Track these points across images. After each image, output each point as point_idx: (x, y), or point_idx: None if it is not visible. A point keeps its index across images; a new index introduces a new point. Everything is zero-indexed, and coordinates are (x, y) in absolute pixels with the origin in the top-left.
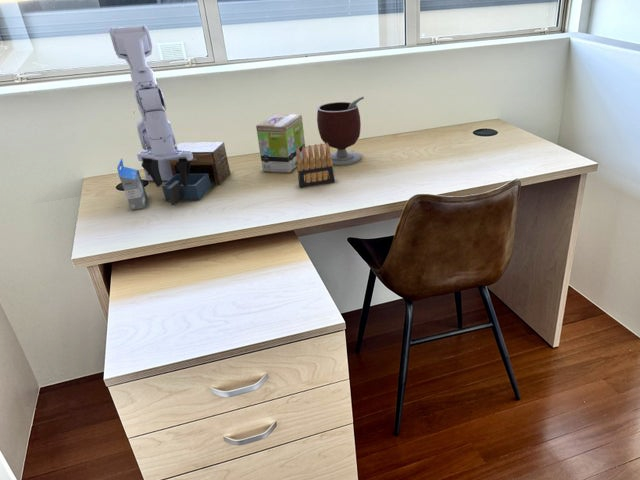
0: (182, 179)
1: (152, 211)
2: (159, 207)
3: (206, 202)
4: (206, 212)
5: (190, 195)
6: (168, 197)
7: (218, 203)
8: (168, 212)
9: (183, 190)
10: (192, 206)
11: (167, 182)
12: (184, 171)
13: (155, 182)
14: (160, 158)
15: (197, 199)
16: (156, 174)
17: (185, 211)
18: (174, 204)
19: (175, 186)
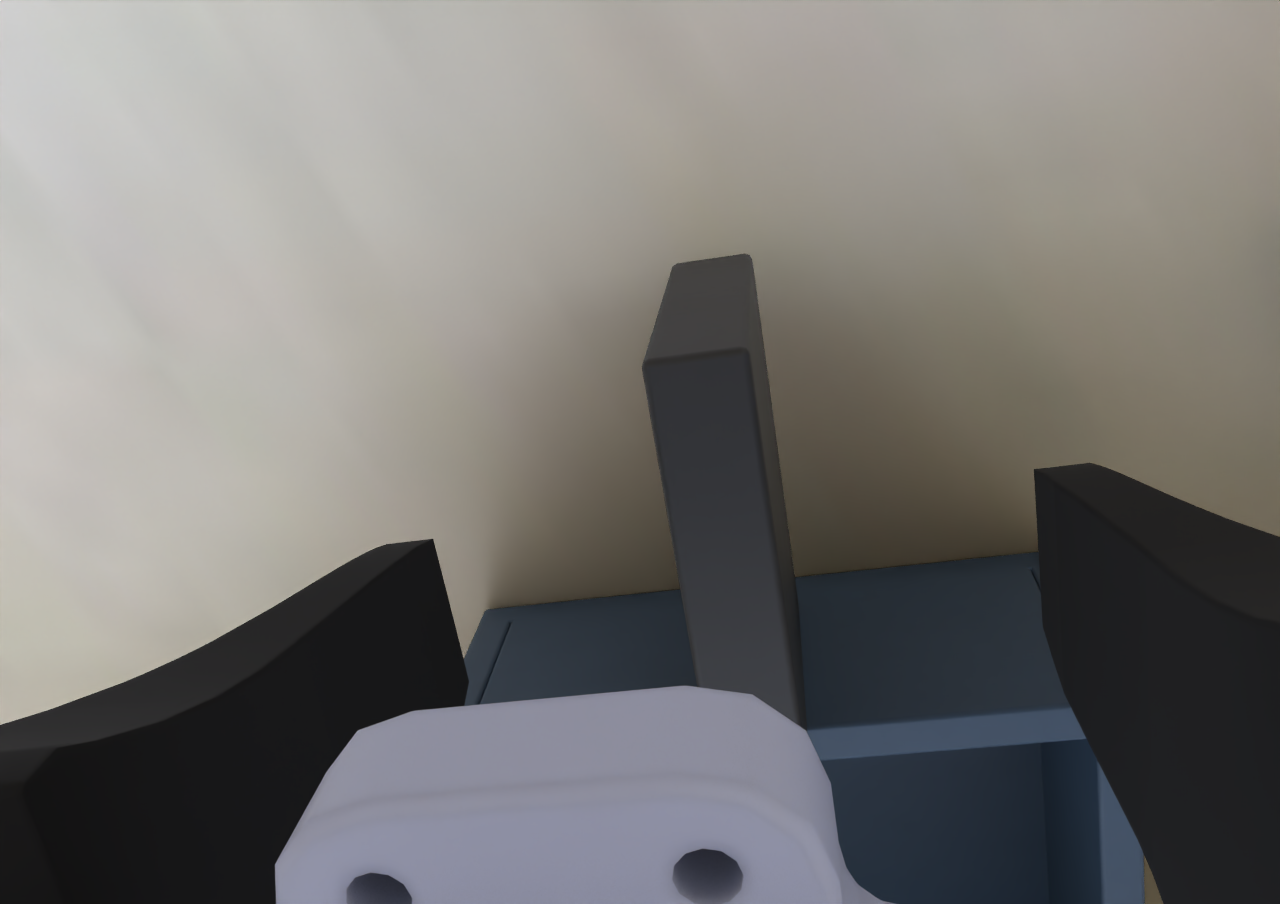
0: (332, 594)
1: (1077, 76)
2: (1031, 271)
3: (328, 553)
4: (63, 180)
5: (596, 641)
6: (1005, 583)
7: (119, 537)
8: (732, 79)
9: (692, 682)
10: (454, 383)
11: (1102, 865)
12: (76, 705)
13: (1118, 481)
14: (373, 771)
15: (505, 613)
16: (1140, 677)
17: (445, 168)
18: (679, 264)
19: (682, 571)
